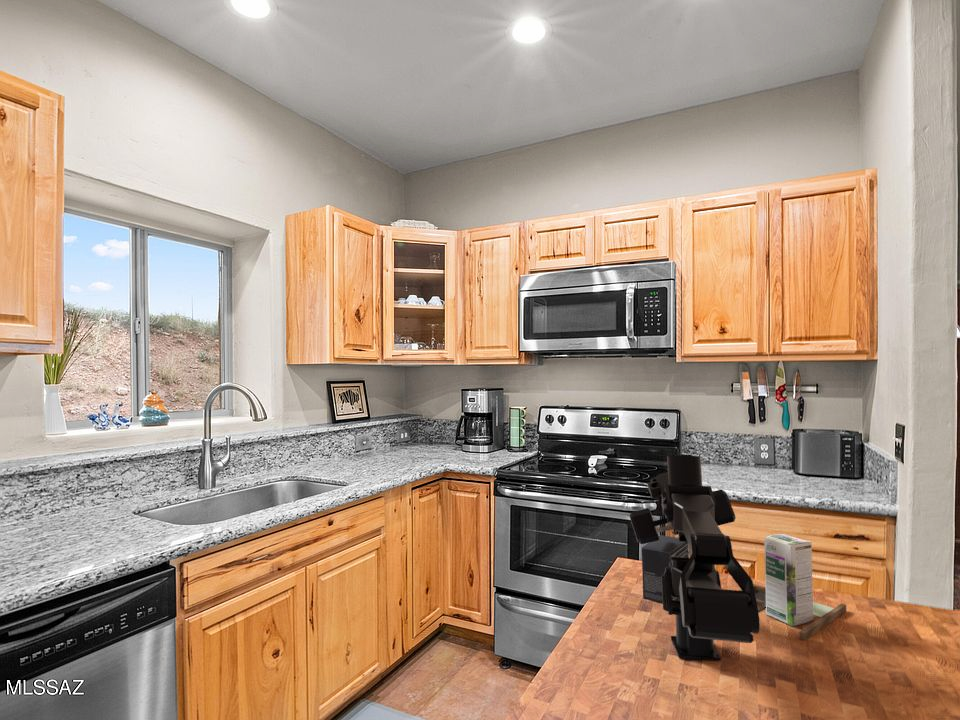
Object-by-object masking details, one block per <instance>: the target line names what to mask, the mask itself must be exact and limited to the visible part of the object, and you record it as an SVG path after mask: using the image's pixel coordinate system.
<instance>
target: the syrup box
mask: <svg viewBox="0 0 960 720" xmlns="http://www.w3.org/2000/svg"><path fill="white" fill-rule="evenodd" d="M763 538H764V541H763V543H764V547H763V548H764V577H765V578H764V580H765V584H764V585H765V586H764V587H765V588H766V608H765V615H766V616H769V617H771V618H774V619H776V620H779V621H780V622H782V623H784V624H787V625H788V626H790V627H796V626H799V625H803V624H806V623H810V622H814V615H813V602H814V597H813V596H814V595H813V594H814V593H813V592H814V591H813V585H814V584H813V552H812V551H813V548H812V541H811V540H805V539H802V538H798V537H795V536H792V535H789V534H786V533H776V534H771V535H768V536H767V535H766V536H765V537H763Z"/></svg>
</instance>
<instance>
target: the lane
mask: <svg viewBox="0 0 960 720" xmlns="http://www.w3.org/2000/svg"><path fill="white" fill-rule="evenodd" d="M753 587H754V592H755V597H756V602H757V608H758V612H761V611H762V610H763V609H766V608H765V607H766V588H765V586H761V585H758V584H755V583H753ZM739 591H742V590H741V589H739ZM846 612H847V604H845V603H840V604H838V605H836V606H835V607H831V606H828V605H825V604H822V603H818V602H815V601H813V617H814V616H815V617H817V618H818V617H819V618H818V619H816V620H813V621H812V622H811V623H810V624H809V625H807V626H805V627H804V628H802V629H800V630H799V632H798V633H799V634H798V635H799V640H802V641H804V642H805V641H806V640H808V639H809V638H811V637H812V636H814V635H816V633H818V632H819V631H820V630H822V629H823V628H825V627H826V626H827V625H829V624H830V623H832V622H833V621H835V620H836V619H838V618H839V617H840V616H842V615H843V614H845V613H846Z"/></svg>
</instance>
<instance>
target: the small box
mask: <svg viewBox="0 0 960 720" xmlns="http://www.w3.org/2000/svg"><path fill="white" fill-rule="evenodd" d="M671 557H680V558H690V557H689V546H688V542H682V541H679V537H675V536H668V535H660V534H659V540H658V541H654V542H650V543H646V544H645V545H643V546H641V569H642V570H641V571H642V572H641V573H642V574H641V575H642V598H643V599H644V600H648V601H652V602H655V603H659V604H663V595H662V579H661V576H662V575H663V574H664V571H665V567H669V562H670V561H671ZM669 568H670V567H669ZM671 597H672V596H671ZM672 600H677V601H680V598H678V597H672Z"/></svg>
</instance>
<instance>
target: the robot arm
mask: <svg viewBox="0 0 960 720" xmlns="http://www.w3.org/2000/svg"><path fill="white" fill-rule="evenodd" d="M666 457H667V458H666V460H667V471H666V472H663V473H660V474H657V475H656V476H655V477H652V478H651V479H650V482H647V488H648V492H649V494H650V496H651V499H652V500H655V499H657V502H659V501H660V502H661V504H660V506H661V507H662V511H663V512H662V513H663V515H664V516H665V518H664V517H663V518H660V519H655V518H654V516H653V515H652V511H651V509H650V508H648V507H647V508H643V509H639V510H634V511H631V512H630V514H629V519H630V523H631V525H632V526H631V527H632V529H633V533H634V534H635V538H636V542H637V543H639V544H640V545H644V544H645V545H646V544H648V543H650V542H654V541H658V540H659V536H660V533H664V532H666V531H671V530H672V532H673V535H674V536H676V535H677V536H678V538H679V541H682V542H688V550H689V558H680V557H671V561H670V562H669V567H670V568H669V567H665V571H664V574H663V575H662V576H661V579H662V595H663V603H662V610H664V611H666V612H668V615H669V616H672V615H675V634H676V635H671V636H670V641H671V644H672V645H673V648H674V650H675V652H676V654H677V657H678V658H680V659H690V660H692V659H694V660H706V661H709V660H710V661H721V660H722V656H721V653H720V652H719V651H718V648H717V647H716V645H715V642H714V641H724V642H736V643H743V644H752V643H753V642H754V636H753V634H757V635H758V634H759V633H760V625H761V624H760V615H759V611H758V608H757V602H756V597H755V592H754V587H753V584H754V582H753V579H752V578H751V576H750V575H749V573H748V572H747V571H746V570H745V569H744V568H743V566H742V565H741V564H740V563H739V561H738V560H737V559H736V557H735V555H734V552H733V548H732V541H731V537H730V535H725V534H724V533H723V532H722V531H721V528H720V527H719V526H722V525H726V524H730V523H735V521H736V514H735V511H734V509H733V506H732V503H731V501H730V498H729V496H728V494H727V492H726V491H725V490H723V489H717V490H714V491H713V489H712V486H710V485H703V477H702V476H703V475H702V462H701V460H702V459H701V456H700V455H699V456H698V455H697V456H696V455H692V454H679V455H677V454H676V455H667V456H666ZM715 566H725V569H726V571H727V573H728V574H729V576H730V577H731V578H732V579H733V580H734V581H735V583H736V584H737V585H738V587H739V588H740V589H739V590H742V591H739V590H735V589H723V588H722V585H721V577H720V572H719V571H718V570H716V567H715ZM671 596H672V597H678V598H680V599H679V600H678V601H677V600H672V597H671Z"/></svg>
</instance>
